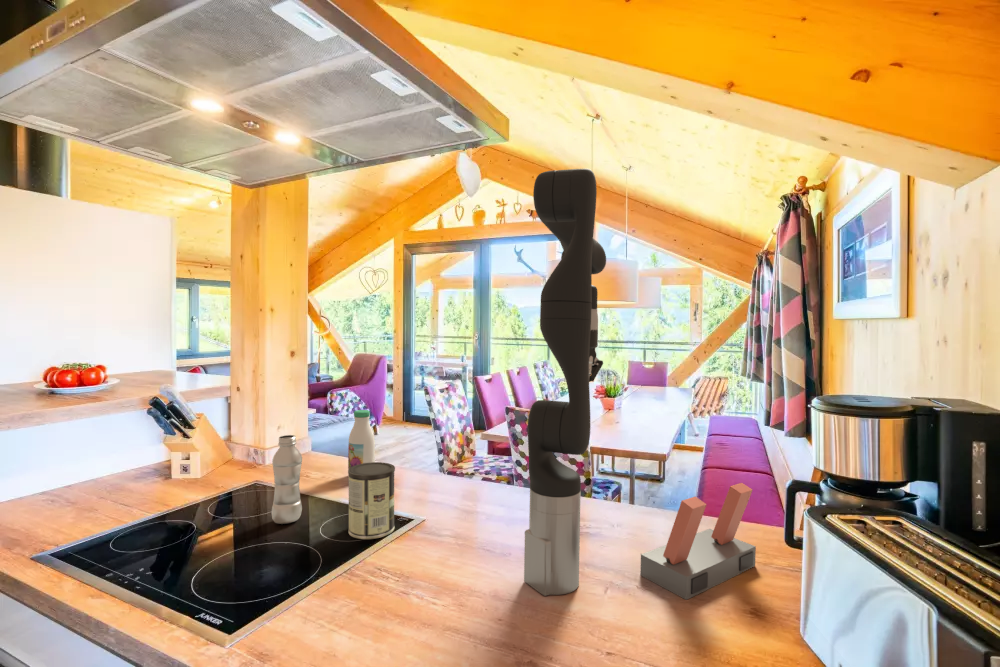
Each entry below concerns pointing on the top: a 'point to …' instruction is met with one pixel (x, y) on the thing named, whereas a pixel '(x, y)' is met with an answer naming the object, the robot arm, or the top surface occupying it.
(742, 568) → the grey switch base
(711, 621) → the top surface
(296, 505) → the plastic bottle
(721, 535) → the block
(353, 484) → the coffee can
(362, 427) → the milk bottle
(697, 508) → the rocker near
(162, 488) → the top surface
